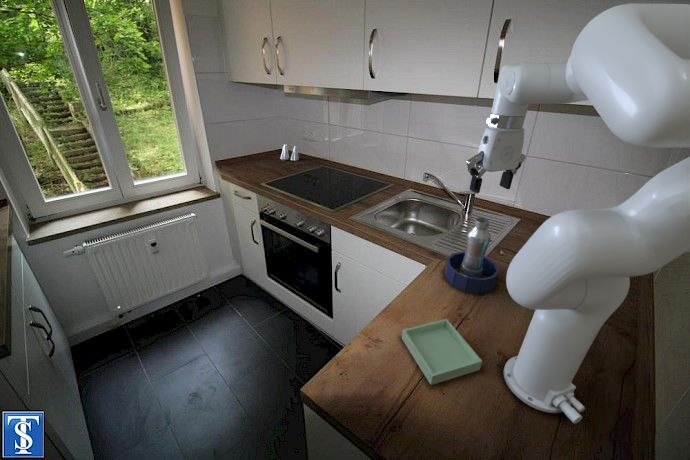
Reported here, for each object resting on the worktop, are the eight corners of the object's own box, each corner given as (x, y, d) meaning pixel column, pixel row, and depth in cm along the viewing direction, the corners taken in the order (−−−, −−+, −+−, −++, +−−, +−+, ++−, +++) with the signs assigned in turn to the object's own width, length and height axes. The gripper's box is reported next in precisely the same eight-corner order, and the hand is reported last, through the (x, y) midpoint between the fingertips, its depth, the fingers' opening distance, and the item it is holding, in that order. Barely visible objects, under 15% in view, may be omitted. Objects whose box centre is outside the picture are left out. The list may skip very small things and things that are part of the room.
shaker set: (280, 161, 211) (279, 145, 206) (281, 159, 215) (279, 143, 210) (298, 161, 212) (297, 144, 207) (298, 159, 216) (297, 143, 211)
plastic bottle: (466, 286, 94) (480, 227, 84) (453, 273, 99) (465, 216, 90) (485, 283, 95) (500, 224, 86) (471, 270, 101) (484, 214, 91)
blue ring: (505, 287, 93) (509, 274, 91) (463, 297, 89) (467, 283, 87) (473, 261, 105) (476, 249, 103) (435, 269, 101) (437, 256, 99)
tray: (479, 369, 68) (482, 361, 67) (430, 385, 65) (432, 376, 63) (445, 326, 79) (446, 318, 78) (401, 338, 76) (402, 329, 74)
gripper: (486, 127, 69) (471, 198, 77) (547, 123, 74) (526, 191, 82) (465, 121, 75) (453, 188, 84) (522, 117, 80) (505, 181, 88)
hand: (489, 189), depth 83 cm, fingers open, 9 cm apart
